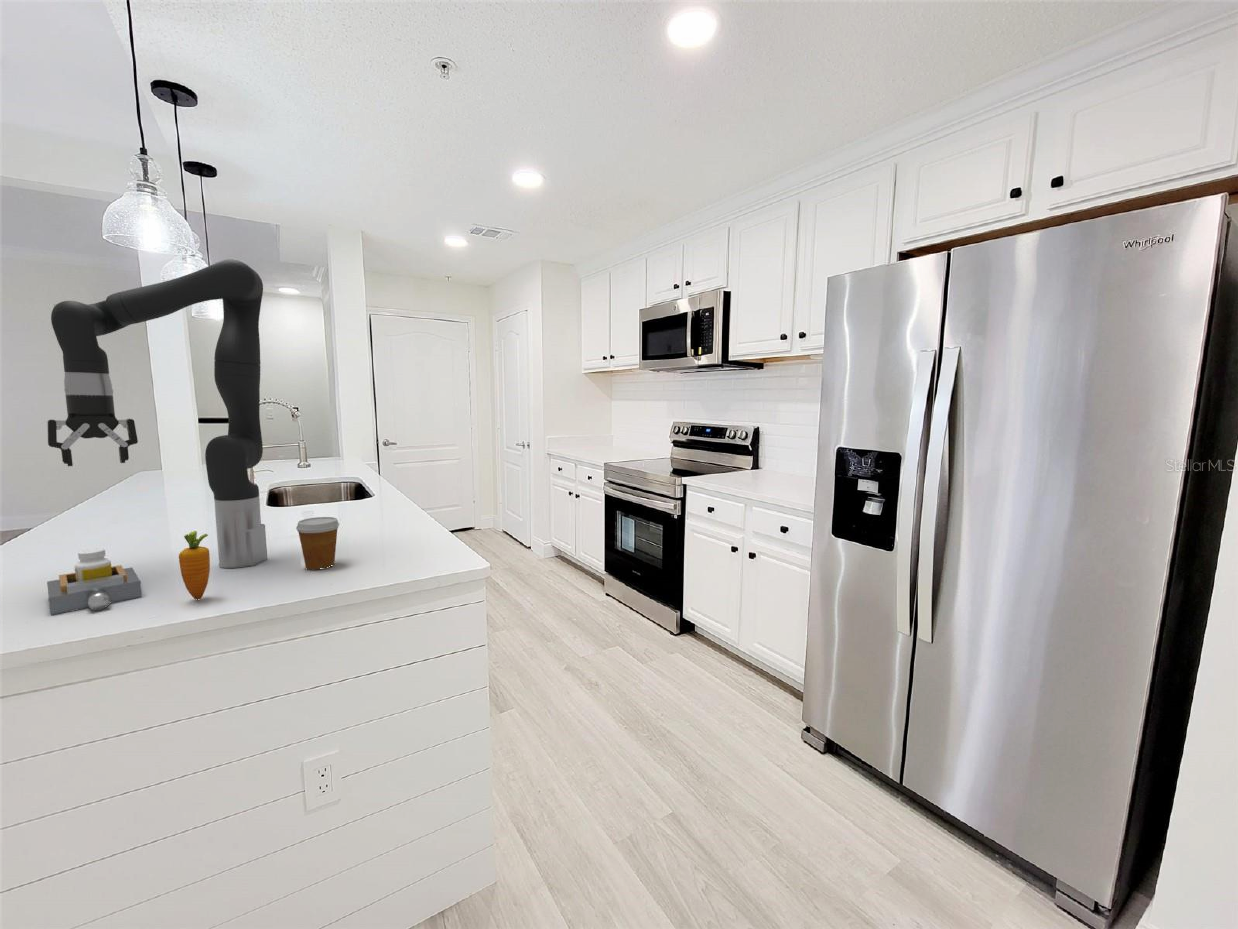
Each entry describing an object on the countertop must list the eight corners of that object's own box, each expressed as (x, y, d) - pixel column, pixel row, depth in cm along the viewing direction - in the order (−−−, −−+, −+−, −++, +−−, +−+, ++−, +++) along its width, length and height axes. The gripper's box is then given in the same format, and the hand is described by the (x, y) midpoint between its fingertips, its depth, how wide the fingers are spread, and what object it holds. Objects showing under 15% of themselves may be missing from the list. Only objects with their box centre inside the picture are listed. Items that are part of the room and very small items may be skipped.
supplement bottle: (121, 591, 111) (116, 547, 110) (93, 600, 106) (88, 555, 105) (98, 590, 112) (94, 546, 111) (70, 599, 106) (65, 553, 105)
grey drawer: (133, 582, 117) (131, 561, 116) (144, 602, 106) (142, 578, 105) (48, 597, 107) (46, 574, 106) (51, 621, 96) (48, 596, 95)
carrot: (194, 595, 110) (188, 527, 108) (218, 595, 110) (213, 527, 108) (176, 605, 105) (170, 534, 103) (202, 604, 105) (196, 533, 103)
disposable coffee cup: (295, 574, 124) (292, 526, 122) (301, 563, 132) (299, 518, 131) (339, 570, 128) (337, 523, 126) (342, 559, 136) (340, 515, 135)
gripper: (129, 394, 123) (136, 460, 125) (41, 392, 112) (49, 465, 114) (135, 394, 118) (141, 463, 120) (43, 392, 108) (52, 468, 109)
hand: (97, 464), depth 117 cm, fingers open, 8 cm apart
